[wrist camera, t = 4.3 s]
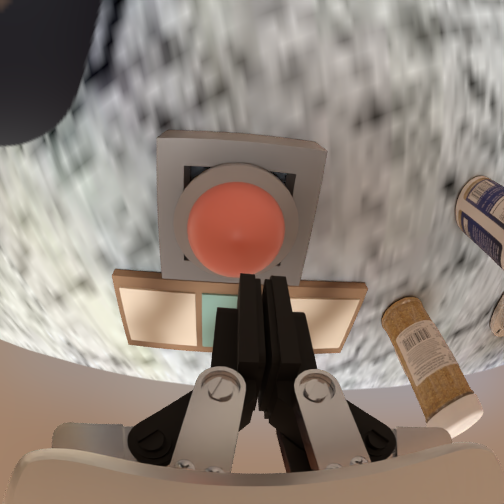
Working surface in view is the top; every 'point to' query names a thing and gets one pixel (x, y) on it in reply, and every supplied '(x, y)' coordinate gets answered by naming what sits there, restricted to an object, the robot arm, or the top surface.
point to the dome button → (235, 220)
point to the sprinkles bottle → (431, 368)
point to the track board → (224, 295)
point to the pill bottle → (483, 216)
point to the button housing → (235, 151)
